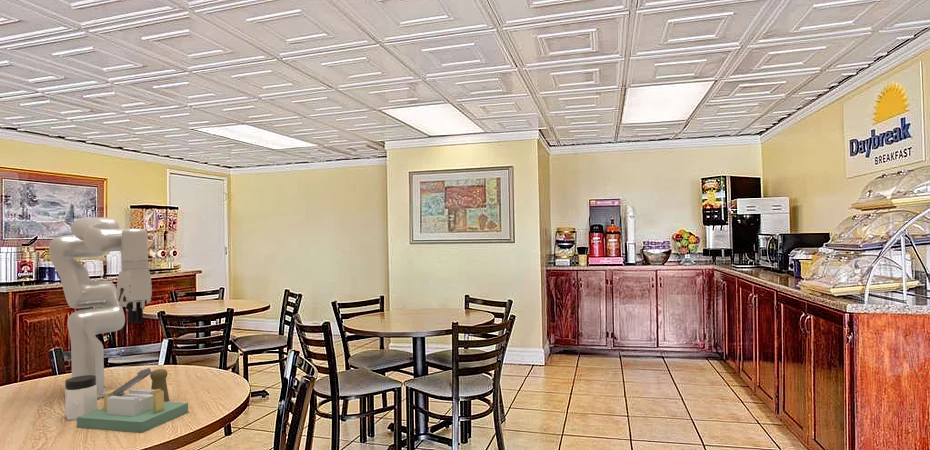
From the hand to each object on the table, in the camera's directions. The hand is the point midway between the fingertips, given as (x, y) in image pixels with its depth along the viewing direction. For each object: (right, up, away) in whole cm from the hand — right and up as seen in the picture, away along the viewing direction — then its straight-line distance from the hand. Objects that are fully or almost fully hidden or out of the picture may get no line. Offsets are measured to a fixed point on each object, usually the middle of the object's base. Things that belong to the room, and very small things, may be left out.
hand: (135, 322), depth 178 cm
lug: (+13, -26, -11) cm, 31 cm away
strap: (+4, -18, -9) cm, 20 cm away
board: (+5, -29, -9) cm, 31 cm away
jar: (-15, -30, -3) cm, 34 cm away
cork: (+2, -29, +10) cm, 31 cm away
